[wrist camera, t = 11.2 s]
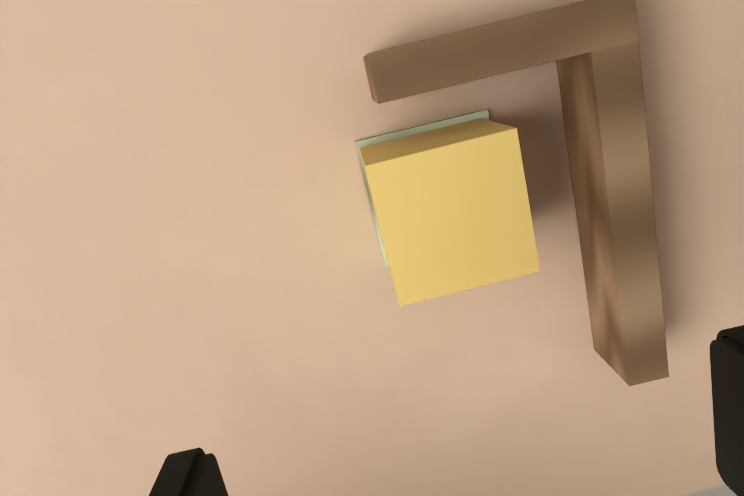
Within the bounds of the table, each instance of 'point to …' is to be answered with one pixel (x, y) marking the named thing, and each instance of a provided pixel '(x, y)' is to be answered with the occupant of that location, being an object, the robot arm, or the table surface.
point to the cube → (452, 208)
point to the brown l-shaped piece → (569, 151)
